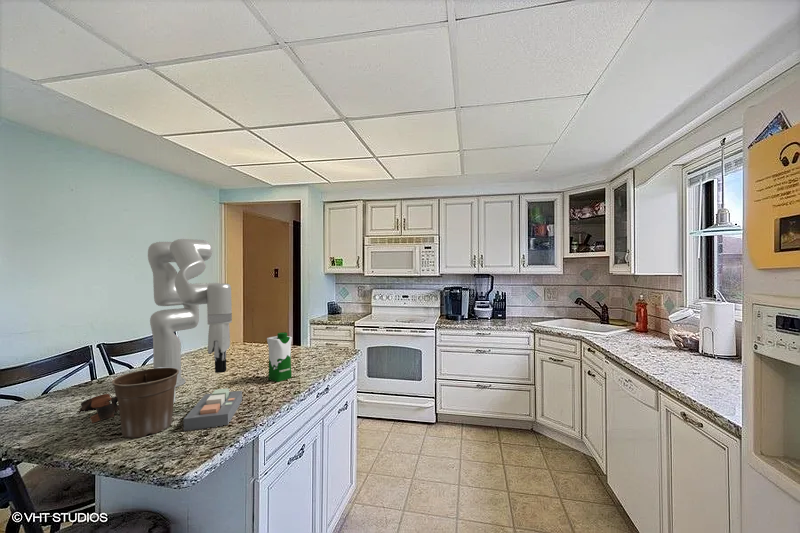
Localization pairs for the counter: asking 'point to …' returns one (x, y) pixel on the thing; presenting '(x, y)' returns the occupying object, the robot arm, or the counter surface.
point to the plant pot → (145, 400)
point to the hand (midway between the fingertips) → (220, 371)
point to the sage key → (222, 392)
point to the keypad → (214, 419)
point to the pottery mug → (100, 407)
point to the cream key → (216, 399)
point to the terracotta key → (210, 409)
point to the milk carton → (279, 357)
